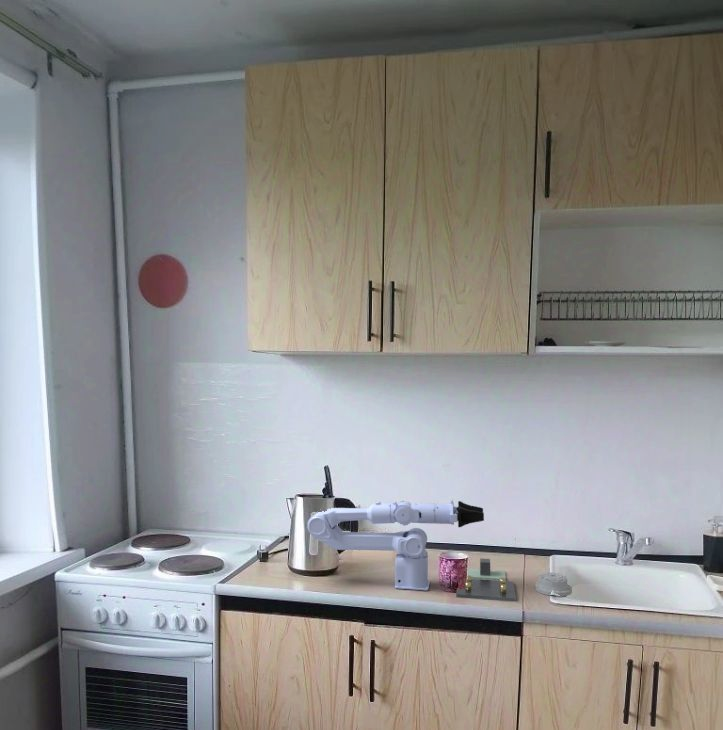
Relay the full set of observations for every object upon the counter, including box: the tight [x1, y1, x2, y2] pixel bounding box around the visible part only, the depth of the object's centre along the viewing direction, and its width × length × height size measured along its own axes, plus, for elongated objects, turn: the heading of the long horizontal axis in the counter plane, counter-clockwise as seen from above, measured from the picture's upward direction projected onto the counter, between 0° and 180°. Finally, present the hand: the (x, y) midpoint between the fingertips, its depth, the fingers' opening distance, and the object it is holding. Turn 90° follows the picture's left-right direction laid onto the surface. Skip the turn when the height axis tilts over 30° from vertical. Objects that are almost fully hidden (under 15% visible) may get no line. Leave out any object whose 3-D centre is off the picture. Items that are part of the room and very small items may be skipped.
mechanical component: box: [534, 572, 573, 597], centre depth 175 cm, size 10×4×10 cm
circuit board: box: [467, 557, 507, 581], centre depth 189 cm, size 12×8×5 cm, turn 79°
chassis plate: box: [455, 576, 517, 602], centre depth 175 cm, size 16×14×3 cm
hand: (483, 514), depth 176 cm, fingers open, 7 cm apart
